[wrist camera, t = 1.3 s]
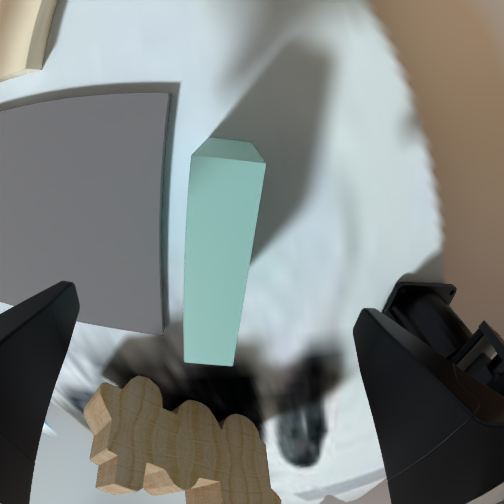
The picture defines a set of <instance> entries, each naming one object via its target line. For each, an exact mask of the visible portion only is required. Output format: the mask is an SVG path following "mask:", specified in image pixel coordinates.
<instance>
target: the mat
mask: <svg viewBox="0 0 504 504" xmlns="http://www.w3.org/2000/svg"><path fill="white" fill-rule="evenodd" d="M170 101H171V94H170V93H121V94H104V95H91V96H81V97H73V98H65V99H58V100H52V101H46V102H40V103H35V104H30V105H25V106H20V107H16V108H12V109H7V110H4V111H0V302H3V303H6V304H9V305H13V306H16V305H17V304H19V303H21V302H23V301H25V300H26V299H28V298H30V297H32V296H34V295H36V294H38V293H39V292H41V291H43V290H45V289H47V288H49V287H51V286H53V285H55V284H57V283H59V282H61V281H69V282H73V283H74V284H75V286H76V290H77V295H78V299H79V303H80V310H79V314H78V317H77V320H76V321H78V322H83V323H88V324H93V325H98V326H104V327H110V328H115V329H121V330H128V331H134V332H141V333H148V334H156V335H163V333H164V314H163V293H162V198H163V177H164V162H165V149H166V137H167V127H168V118H169V109H170Z"/></svg>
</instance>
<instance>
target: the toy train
mask: <svg viewBox="0 0 504 504" xmlns="http://www.w3.org/2000/svg"><path fill="white" fill-rule="evenodd" d="M84 416H85V418H86V421H87V423H88V425H89V427H90V429H91V431H92V434H93V435H94V439H93V444H92V449H91V454H90V461H91V462H93V463H95V464H97V465H99V467H98V474H97V481H96V488H97V489H100V490H103V491H105V492H108V493H111V494H123V493H130V492H137V491H139V490H140V489H142V488H144V490H145V491H147V492H148V493H149V494H151V495H163V494H169V493H174V492H180V491H185V495H186V504H281V499H280V497H279V496H278V495H277V494H276V493H275V492H274V491H273V490H272V489H271V485H270V477H269V469H268V461H267V453H266V445H265V443H264V442H263V441H262V440H260V438H259V433H258V431H257V429H256V426H255V424H254V423H253V422H252V421H251V420H250V419H248V418H247V417H245V416H243V415H240V414H233V415H230V416H228V417H226V418H225V419H223V420H221V421H219V422H217V420H216V418H215V416H214V415H213V413H212V412H211V411H210V409H209V408H208V407H207V406H205V405H204V404H203V403H200V402H197V401H194V400H187V401H186V402H184V403H183V404H181V405H180V406H178V407H177V408H176V409H174V410H173V411H171V412H170V411H168V410H166V409H164V408H163V407H162V395H161V392H160V390H159V387H158V386H157V385H156V384H155V383H154V382H152V381H151V380H150V379H149V378H147V377H143V376H139V375H138V376H136V377H135V378H133V379H131V380H130V381H129V382H128V383H127V384H126V386H125V387H124V388H123V389H120V388H118V387H116V386H113V385H111V384H109V383H107V382H105V383H102V384H101V385H100V387H99V388H98V389H97V391H96V392H95V394H94V395H93V396H92V398H91V399H90V401H89V402H88V403H87V405H86V406H85V408H84Z"/></svg>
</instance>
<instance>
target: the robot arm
mask: <svg viewBox="0 0 504 504" xmlns="http://www.w3.org/2000/svg"><path fill="white" fill-rule="evenodd" d="M401 289H402V290H401ZM455 293H456V287H455V286H454V285H452V284H435V283H417V282H400V283H398V284H397V285H396V286H395V288H394V290H393V292H392V294H391V297H390V299H389V301H388V303H387V305H386V307H385V309H384V311H383V314H382V313H381V312H379V311H378V310H376V309H374V308H364V309H362V310H361V312H360V314H359V317H358V319H357V321H356V323H355V325H354V328H353V336H354V341H355V346H356V352H357V357H358V362H359V368H360V372H361V376H362V380H363V383H364V387H365V390H366V394H367V398H368V401H369V405H370V409H371V412H372V416H373V420H374V424H375V428H376V432H377V436H378V440H379V444H380V449H381V453H382V458H383V462H384V467H385V472H386V476H387V480H388V487H389V492H390V498H391V503H392V504H504V340H503V339H502V337H501V336H500V335H499V334H498V333H497V332H496V331H495V330H494V329H493V328H492V327H491V326H490V325H489V324H488V323H486V322H485V321H483V322H482V323H481V324H480V325H479V329H478V330H477V331H476V332H475V333H474V334H472V333H471V332H470V330H469V329H468V328H467V326H466V325H465V324H464V323H463V321H462V320H461V319H460V318H459V316H458V315H457V314H456V313H455V312H454V311H453V309H452V308H451V307H450V306H449V304H450V303H451V301H452V299H453V297H454V295H455ZM79 310H80V303H79V299H78V295H77V290H76V286H75V284H74V283H73V282H69V281H61V282H59V283H57V284H55V285H53V286H51V287H49V288H47V289H45V290H43V291H41V292H39V293H38V294H36V295H34V296H32V297H30V298H28V299H26V300H25V301H23V302H21V303H19V304H17V305H16V306H14V307H12V308H10V309H8V310H7V311H5V312H3V313H1V314H0V503H1V504H29V501H30V492H31V484H32V478H33V472H34V466H35V460H36V455H37V450H38V445H39V441H40V437H41V432H42V428H43V425H44V421H45V417H46V414H47V410H48V407H49V403H50V400H51V397H52V393H53V390H54V387H55V384H56V381H57V378H58V375H59V373H60V370H61V367H62V364H63V362H64V359H65V356H66V353H67V351H68V347H69V344H70V340H71V337H72V333H73V330H74V327H75V323H76V320H77V317H78V314H79ZM495 352H497V353H498V354H497V355H496V356H495V357H494V358H493V359H492V360H491V359H490V357H491V356H492V355H493V354H494V353H495Z"/></svg>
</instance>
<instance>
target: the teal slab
mask: <svg viewBox="0 0 504 504" xmlns="http://www.w3.org/2000/svg"><path fill="white" fill-rule="evenodd" d="M265 168H266V163H265V161H264V160H263V158H262V157H261V155H260V154H259V153H258V151H257V150H256V148H255V147H254V145H253V144H252V143H251V142H246V141H238V140H230V139H220V138H210V137H208V138H207V140H206V141H205V142H204V143H203V144H202V145H201V146H200V147H199V148H198V149H197V150H196V151H195V152H194V153H193V154H192V155H191V163H190V174H189V186H188V200H187V215H186V232H185V255H184V299H183V327H184V362H187V363H198V364H209V365H223V366H233V362H234V356H235V350H236V344H237V338H238V331H239V325H240V319H241V313H242V307H243V301H244V295H245V289H246V283H247V277H248V271H249V265H250V259H251V253H252V247H253V241H254V235H255V229H256V223H257V217H258V211H259V204H260V198H261V192H262V186H263V180H264V174H265Z"/></svg>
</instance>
